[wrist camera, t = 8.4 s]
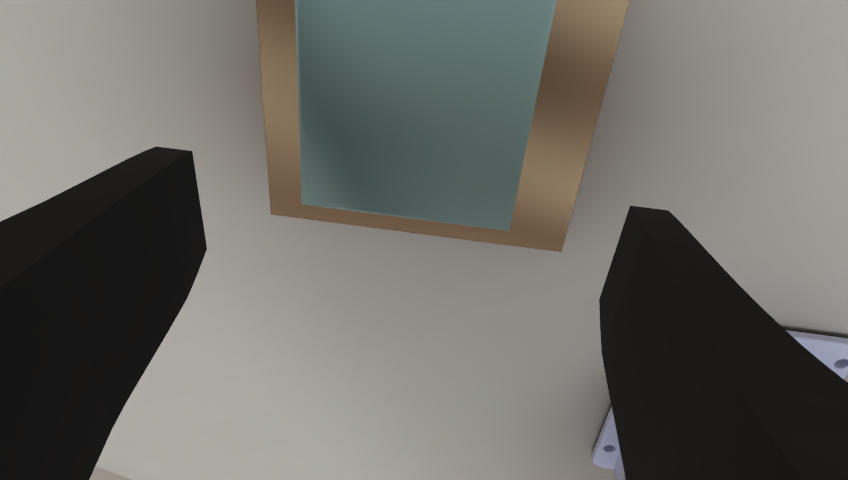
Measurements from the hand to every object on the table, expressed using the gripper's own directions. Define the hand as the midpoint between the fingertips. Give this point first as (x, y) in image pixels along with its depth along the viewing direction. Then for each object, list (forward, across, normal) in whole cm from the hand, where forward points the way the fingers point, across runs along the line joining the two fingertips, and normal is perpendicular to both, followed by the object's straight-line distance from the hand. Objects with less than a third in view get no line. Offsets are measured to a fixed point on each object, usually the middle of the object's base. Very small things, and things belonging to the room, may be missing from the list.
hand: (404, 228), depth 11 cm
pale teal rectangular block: (+9, 0, 0) cm, 9 cm away
